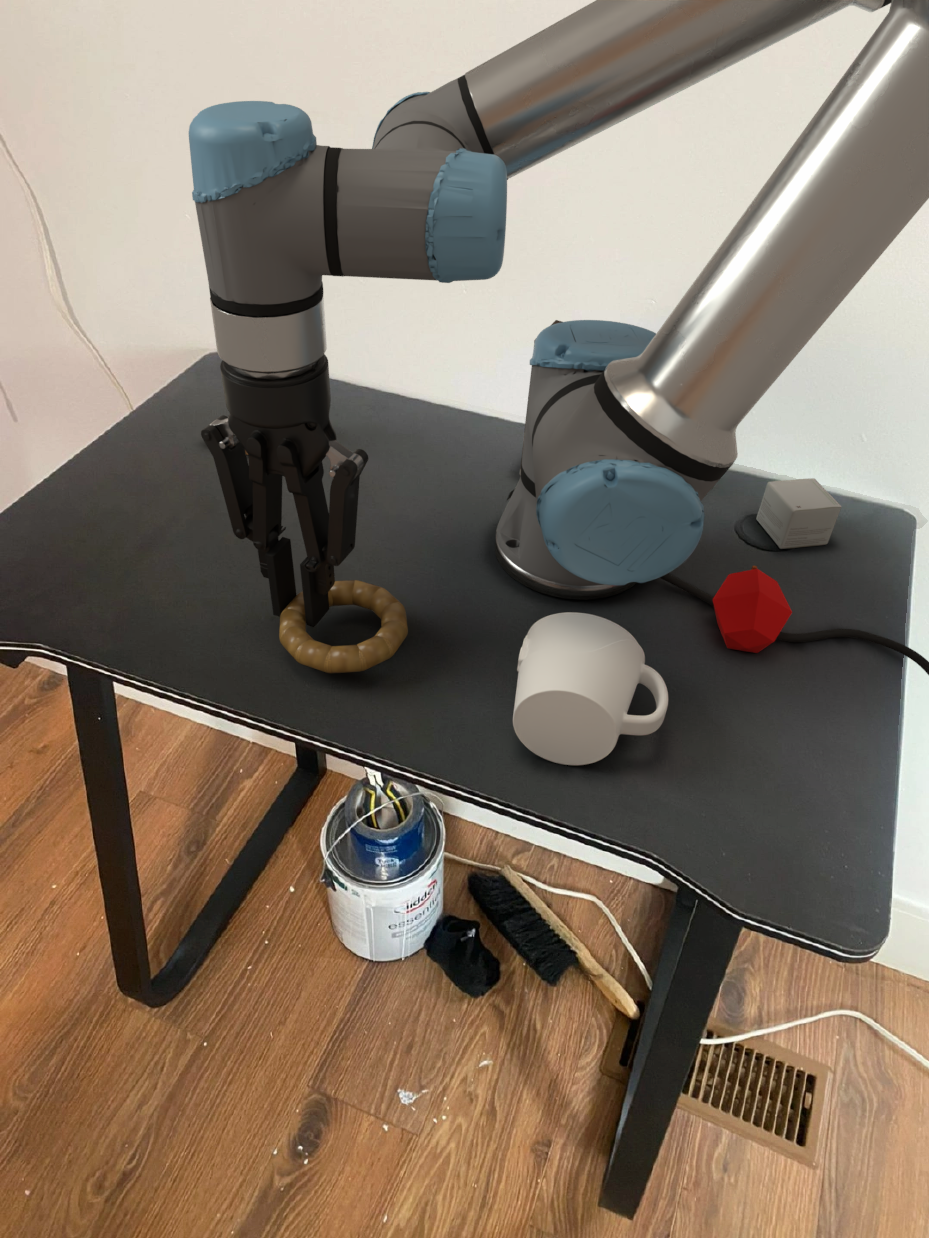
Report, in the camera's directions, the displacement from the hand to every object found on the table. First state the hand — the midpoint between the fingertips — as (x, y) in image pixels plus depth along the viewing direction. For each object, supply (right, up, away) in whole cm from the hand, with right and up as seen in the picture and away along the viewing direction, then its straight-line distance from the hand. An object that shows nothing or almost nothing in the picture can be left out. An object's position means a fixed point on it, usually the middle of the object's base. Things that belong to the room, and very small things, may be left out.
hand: (301, 611), depth 80 cm
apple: (+39, -2, +4) cm, 40 cm away
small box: (+49, +8, +17) cm, 52 cm away
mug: (+24, -9, -5) cm, 26 cm away
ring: (+4, -1, -1) cm, 4 cm away
